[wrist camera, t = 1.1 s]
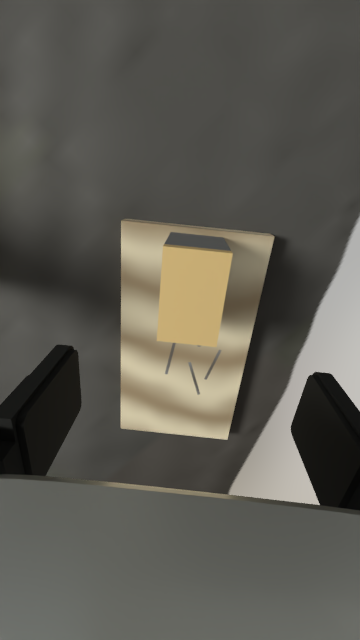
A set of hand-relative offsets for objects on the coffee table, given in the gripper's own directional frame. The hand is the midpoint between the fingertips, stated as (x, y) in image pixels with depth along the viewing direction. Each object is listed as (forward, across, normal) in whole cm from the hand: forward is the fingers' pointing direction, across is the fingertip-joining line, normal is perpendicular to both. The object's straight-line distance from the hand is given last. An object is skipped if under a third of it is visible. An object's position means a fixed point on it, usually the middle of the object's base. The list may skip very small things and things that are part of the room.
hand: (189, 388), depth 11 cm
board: (+17, 0, +8) cm, 19 cm away
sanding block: (+16, 0, 0) cm, 16 cm away
